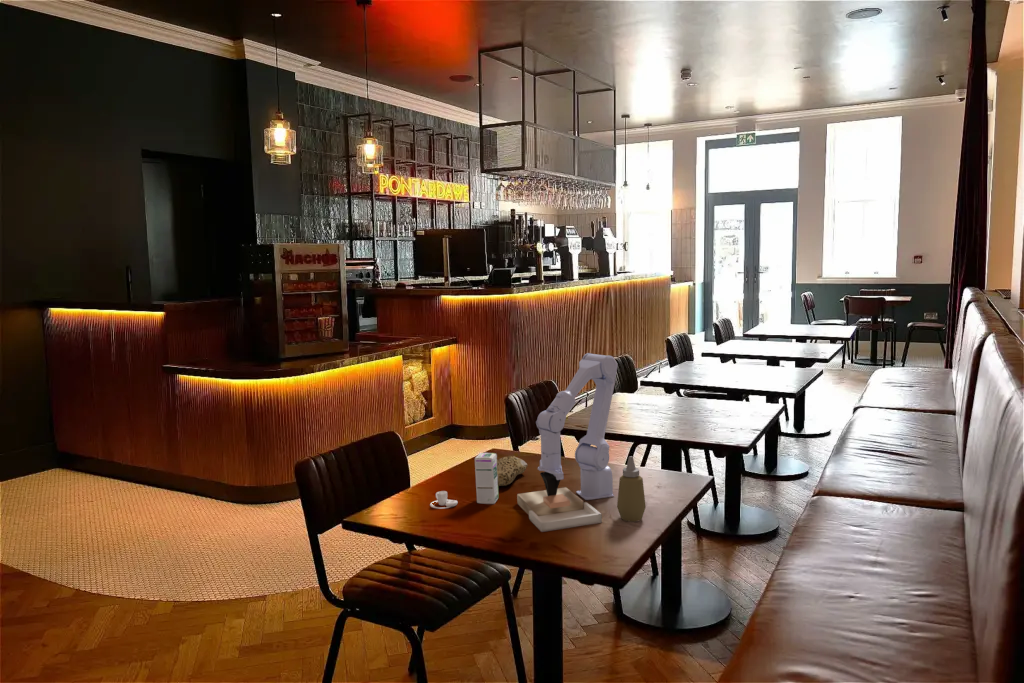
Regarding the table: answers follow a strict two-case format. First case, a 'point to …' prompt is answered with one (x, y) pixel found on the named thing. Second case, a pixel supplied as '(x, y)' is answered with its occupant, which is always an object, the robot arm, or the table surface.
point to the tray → (566, 519)
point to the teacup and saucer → (443, 500)
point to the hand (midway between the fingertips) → (551, 496)
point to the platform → (540, 508)
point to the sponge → (509, 469)
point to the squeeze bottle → (631, 493)
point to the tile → (556, 501)
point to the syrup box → (486, 478)
